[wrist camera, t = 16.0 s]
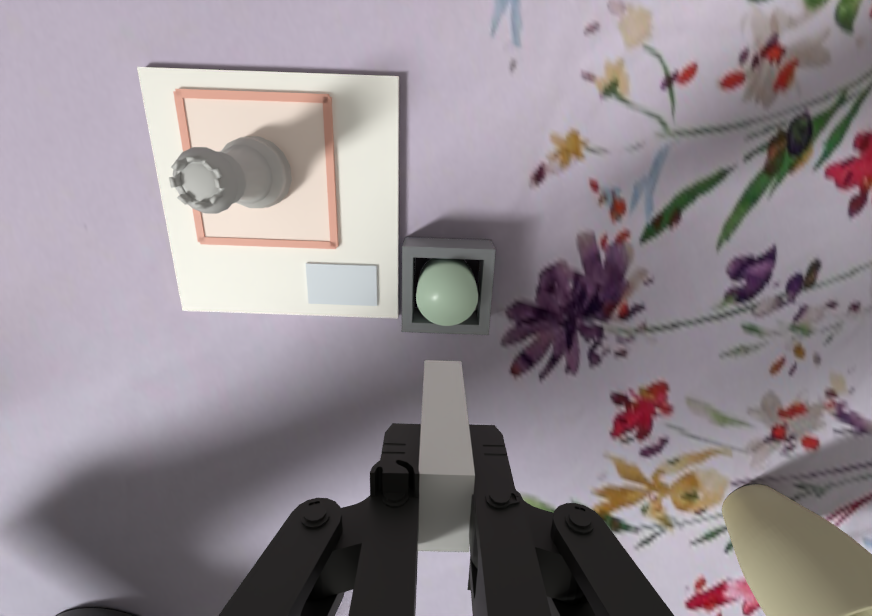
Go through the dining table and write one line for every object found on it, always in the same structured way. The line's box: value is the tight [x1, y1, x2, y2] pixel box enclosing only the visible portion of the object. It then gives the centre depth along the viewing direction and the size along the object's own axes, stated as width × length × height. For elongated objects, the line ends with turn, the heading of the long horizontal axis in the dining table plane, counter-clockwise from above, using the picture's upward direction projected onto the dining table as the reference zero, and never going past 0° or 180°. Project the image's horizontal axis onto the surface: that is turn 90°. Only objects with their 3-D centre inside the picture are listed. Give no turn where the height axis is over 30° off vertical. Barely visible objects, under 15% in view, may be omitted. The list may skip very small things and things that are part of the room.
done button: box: [416, 258, 478, 326], centre depth 30 cm, size 4×4×4 cm
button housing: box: [402, 237, 496, 335], centre depth 30 cm, size 6×6×3 cm
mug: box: [722, 484, 872, 616], centre depth 34 cm, size 11×10×12 cm
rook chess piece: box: [169, 136, 292, 214], centre depth 25 cm, size 4×4×8 cm
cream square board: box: [137, 67, 399, 318], centre depth 30 cm, size 16×16×1 cm
